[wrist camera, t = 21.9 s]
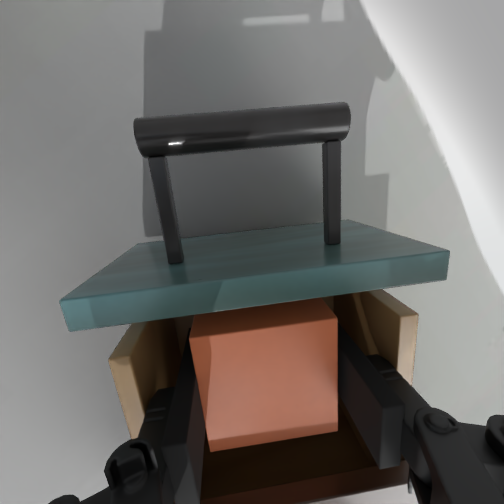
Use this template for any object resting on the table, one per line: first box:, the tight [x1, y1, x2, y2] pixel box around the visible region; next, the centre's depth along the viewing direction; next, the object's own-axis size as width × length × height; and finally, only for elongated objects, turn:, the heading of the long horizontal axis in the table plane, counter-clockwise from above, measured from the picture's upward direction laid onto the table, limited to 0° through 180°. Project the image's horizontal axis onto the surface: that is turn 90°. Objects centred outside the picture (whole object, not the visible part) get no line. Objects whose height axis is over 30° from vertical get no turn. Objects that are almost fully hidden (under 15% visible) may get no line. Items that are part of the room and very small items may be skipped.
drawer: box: [59, 102, 450, 504], centre depth 14 cm, size 19×14×8 cm
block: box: [189, 297, 338, 452], centre depth 14 cm, size 6×6×6 cm
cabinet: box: [200, 460, 418, 504], centre depth 17 cm, size 15×15×10 cm
